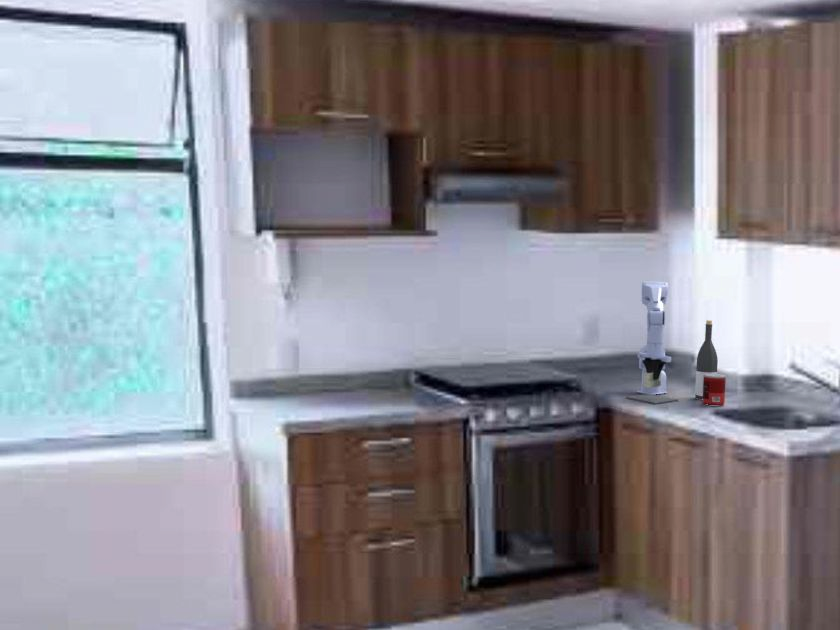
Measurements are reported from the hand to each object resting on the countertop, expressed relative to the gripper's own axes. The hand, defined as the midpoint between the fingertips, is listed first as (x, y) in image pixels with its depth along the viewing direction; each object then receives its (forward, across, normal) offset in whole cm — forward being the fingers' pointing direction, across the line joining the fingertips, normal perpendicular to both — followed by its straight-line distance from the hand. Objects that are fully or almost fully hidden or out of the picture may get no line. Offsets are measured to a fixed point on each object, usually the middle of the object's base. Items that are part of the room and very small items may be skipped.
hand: (653, 379), depth 380 cm
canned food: (+8, +17, +14) cm, 24 cm away
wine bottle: (+8, +8, +21) cm, 24 cm away
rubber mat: (+8, -1, +1) cm, 8 cm away
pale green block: (+3, 0, 0) cm, 3 cm away
